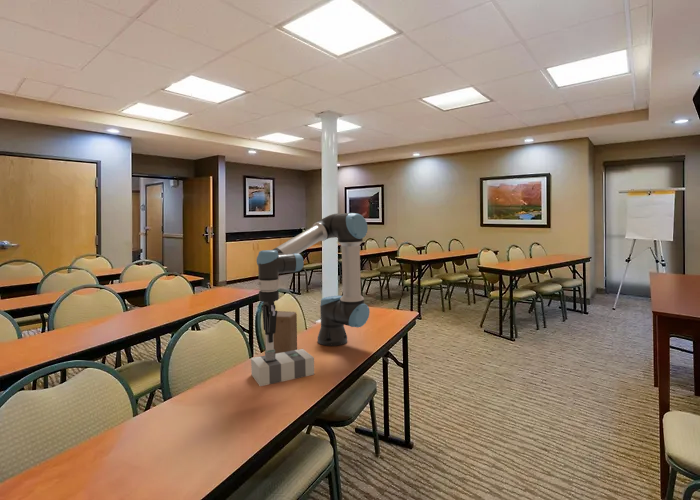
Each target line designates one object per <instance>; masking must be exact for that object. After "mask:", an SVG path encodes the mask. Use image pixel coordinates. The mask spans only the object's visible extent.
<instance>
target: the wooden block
mask: <svg viewBox="0 0 700 500" xmlns="http://www.w3.org/2000/svg"><path fill="white" fill-rule="evenodd" d="M297 316H298V315H297V312H296V311H283V310H277V317H276V332H275V333H274V349H275V354H276V353H282V352H287V351H293V350H298V320H297Z"/></svg>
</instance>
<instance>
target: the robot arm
mask: <svg viewBox="0 0 700 500" xmlns="http://www.w3.org/2000/svg"><path fill="white" fill-rule="evenodd" d="M367 233H368V222H367V220H366V218H364V216H363V215H362V214H360V213H355V212H349V213H347V212H346V213H344V212H343V213H333V214H329V215H327V216H325V217H322V218H321V219H320V220H318V221H316V222H315V223H313V224H312V226H311V227H310V228H308V229H306V230H304V231H303V232H301V233H299V234H296V236H294V237H292V238H291V239H289V240H287V241H285V242H284V243H281V244H280V245H278V246H276V247H275V248H273V249H267V250H260V251H258V255H257V256H256V265H257V267H258V268H257V269H258V271H257V273H258V282H257V286H258V289H259V291H258V300H259V302H263V304H262V305H261V306H260V307H261V313H262V323H263V324H262V325H263V331H264V335H265V350H267V351H270V350H274V333H275V332H276V317H277V311H278V310H276V305H275V302H276V301H278V300H279V298H280V295H279V289H280V287H279V281H280V280H279V274H280V275H281V274H285V273H286V274H287V273H296V272H300V271H302V269H303V268H304V264H305V263H304V258H303V256H302V254H301V253H302V252H303V251H305V250H307V249H309V248H310V247H312V246H314V245H315V244H317V243H319V242H324V241H326V240H328V239H333V238H335V239H336V238H337V242H338V244H339V245H340V246H341V270H342V271H341V273H342V278H341V279H342V295H331V296H325V297H322V298H321V299H320V305H319V307H320V329H319V330H318V331H319V332H318V335H317V343H318V344H319V345H322V346H327V347H328V346H329V347H330V346H331V347H337V346H343V345H346V343H348V334H347V332H346V329H345V326H348V327H351V328H361V327H363V326H364V325H365V324H366V323H367V321H368V320H369V318H370V313H371V312H370V307H369V306H368V304H366V303H365V297H364V296H363V295H362V291H361V289H362V286H361V282H362V281H361V254H360V252H361V250H360V248H361V247H360V245H361V244H362V243H363V242H364V240H363V239H364V238H365V237H366V235H367Z"/></svg>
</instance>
